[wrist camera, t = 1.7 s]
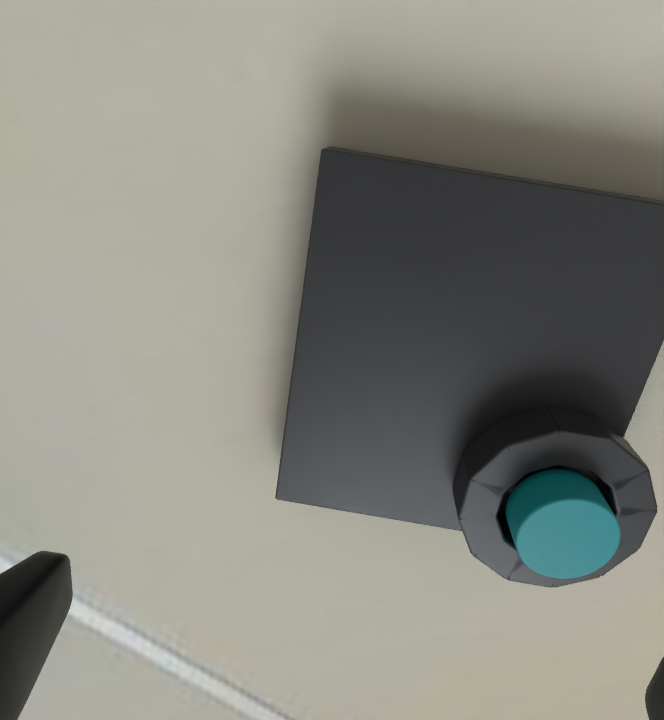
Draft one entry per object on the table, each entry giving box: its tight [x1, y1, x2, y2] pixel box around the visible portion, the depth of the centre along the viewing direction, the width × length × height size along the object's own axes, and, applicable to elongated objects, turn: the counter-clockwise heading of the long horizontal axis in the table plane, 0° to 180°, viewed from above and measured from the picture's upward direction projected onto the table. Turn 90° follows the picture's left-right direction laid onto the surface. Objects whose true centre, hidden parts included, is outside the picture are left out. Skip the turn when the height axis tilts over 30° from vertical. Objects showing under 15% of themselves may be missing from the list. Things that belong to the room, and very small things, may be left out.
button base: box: [276, 146, 664, 587], centre depth 18 cm, size 12×12×4 cm
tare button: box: [506, 469, 621, 579], centre depth 17 cm, size 3×3×2 cm
